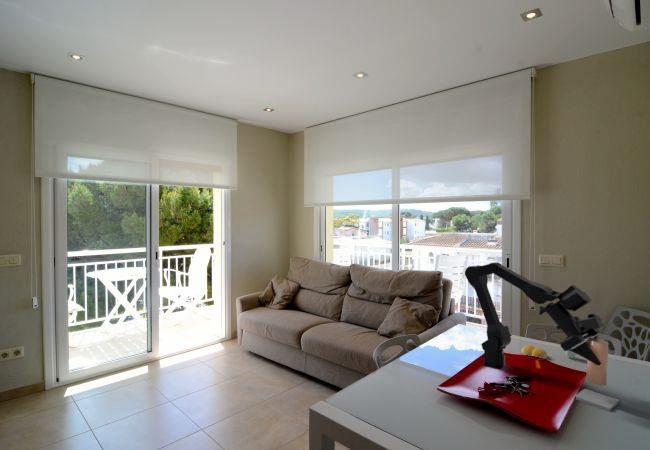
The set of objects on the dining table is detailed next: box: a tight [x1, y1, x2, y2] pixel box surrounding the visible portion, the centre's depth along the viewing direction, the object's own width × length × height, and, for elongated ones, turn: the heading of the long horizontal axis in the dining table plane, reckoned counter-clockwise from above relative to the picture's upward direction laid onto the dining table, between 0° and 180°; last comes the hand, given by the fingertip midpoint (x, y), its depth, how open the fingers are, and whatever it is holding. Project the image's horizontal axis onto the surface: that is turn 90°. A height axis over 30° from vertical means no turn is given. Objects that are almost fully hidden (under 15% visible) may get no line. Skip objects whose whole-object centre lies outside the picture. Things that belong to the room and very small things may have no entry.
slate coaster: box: [575, 388, 620, 412], centre depth 111 cm, size 9×9×1 cm
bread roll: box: [520, 344, 548, 360], centre depth 148 cm, size 8×9×4 cm
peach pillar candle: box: [586, 338, 609, 387], centre depth 111 cm, size 5×5×13 cm
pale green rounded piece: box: [564, 347, 578, 359], centre depth 145 cm, size 8×4×7 cm, turn 27°
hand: (602, 362), depth 110 cm, fingers closed on peach pillar candle, 5 cm apart
